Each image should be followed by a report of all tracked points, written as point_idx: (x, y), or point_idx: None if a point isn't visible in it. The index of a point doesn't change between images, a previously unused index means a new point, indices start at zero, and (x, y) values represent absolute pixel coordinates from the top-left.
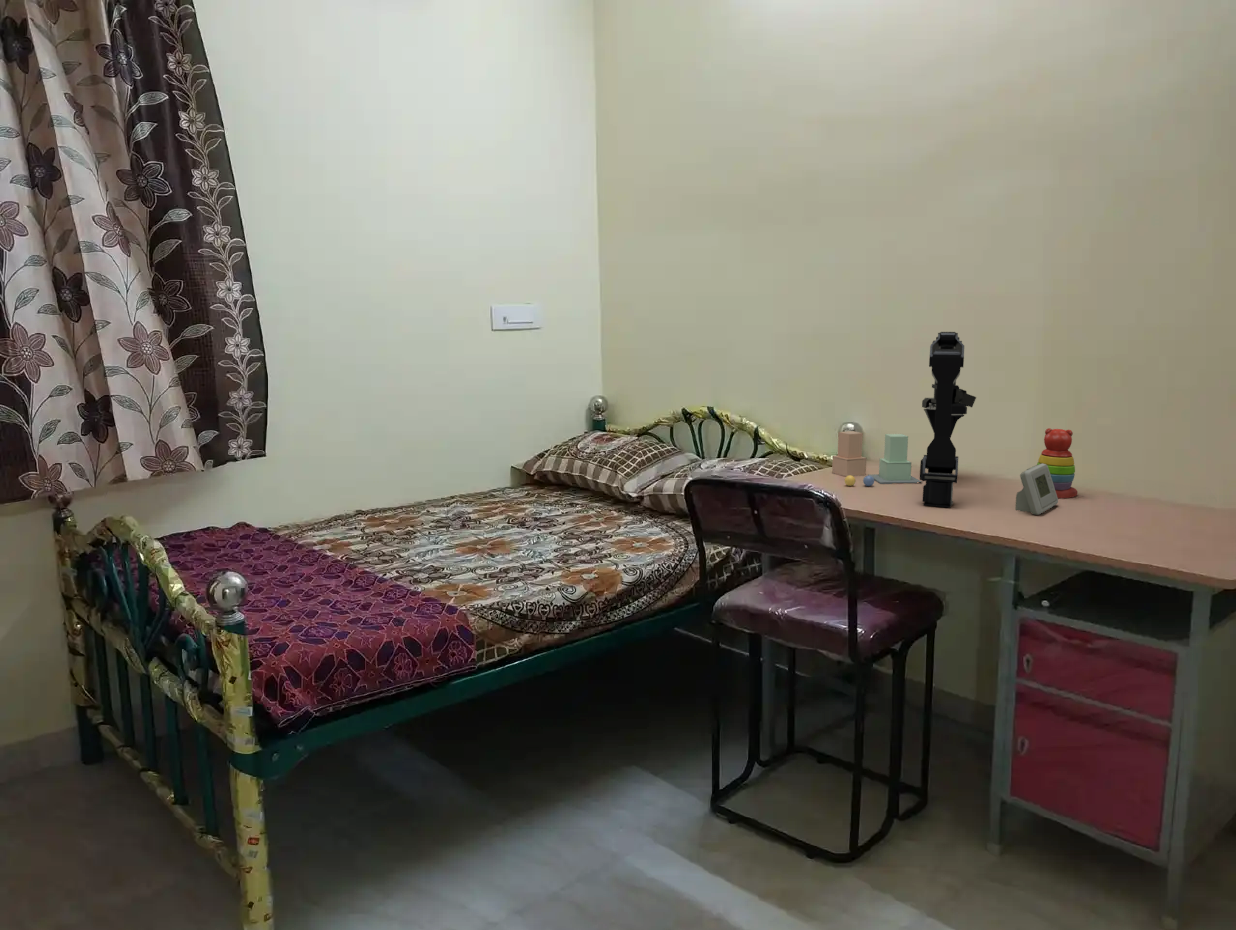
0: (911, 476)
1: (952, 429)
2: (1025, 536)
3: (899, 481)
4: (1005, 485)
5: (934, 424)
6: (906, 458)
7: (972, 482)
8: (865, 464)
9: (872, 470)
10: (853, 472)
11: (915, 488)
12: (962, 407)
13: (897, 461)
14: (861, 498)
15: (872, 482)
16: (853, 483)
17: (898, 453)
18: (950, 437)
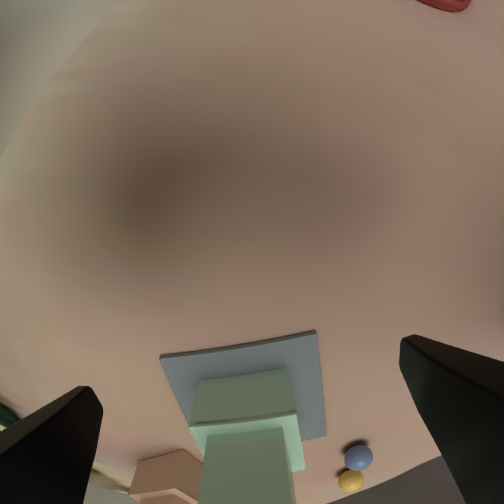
0: (206, 356)
1: (491, 370)
2: None
3: (314, 397)
4: (309, 19)
5: (69, 472)
6: (283, 438)
7: (262, 122)
8: (180, 473)
9: (103, 420)
10: None
11: (396, 353)
12: None
13: (287, 450)
14: None
15: (370, 449)
16: (360, 472)
17: (290, 474)
18: (419, 336)
